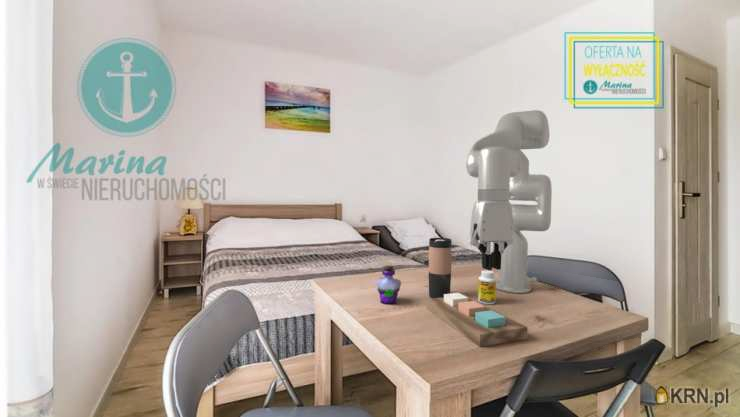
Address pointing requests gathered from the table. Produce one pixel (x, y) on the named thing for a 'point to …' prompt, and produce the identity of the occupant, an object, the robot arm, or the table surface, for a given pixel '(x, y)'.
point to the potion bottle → (388, 286)
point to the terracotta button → (470, 308)
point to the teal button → (489, 319)
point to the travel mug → (439, 267)
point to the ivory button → (454, 299)
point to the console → (477, 324)
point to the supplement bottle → (487, 287)
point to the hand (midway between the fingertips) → (491, 268)
